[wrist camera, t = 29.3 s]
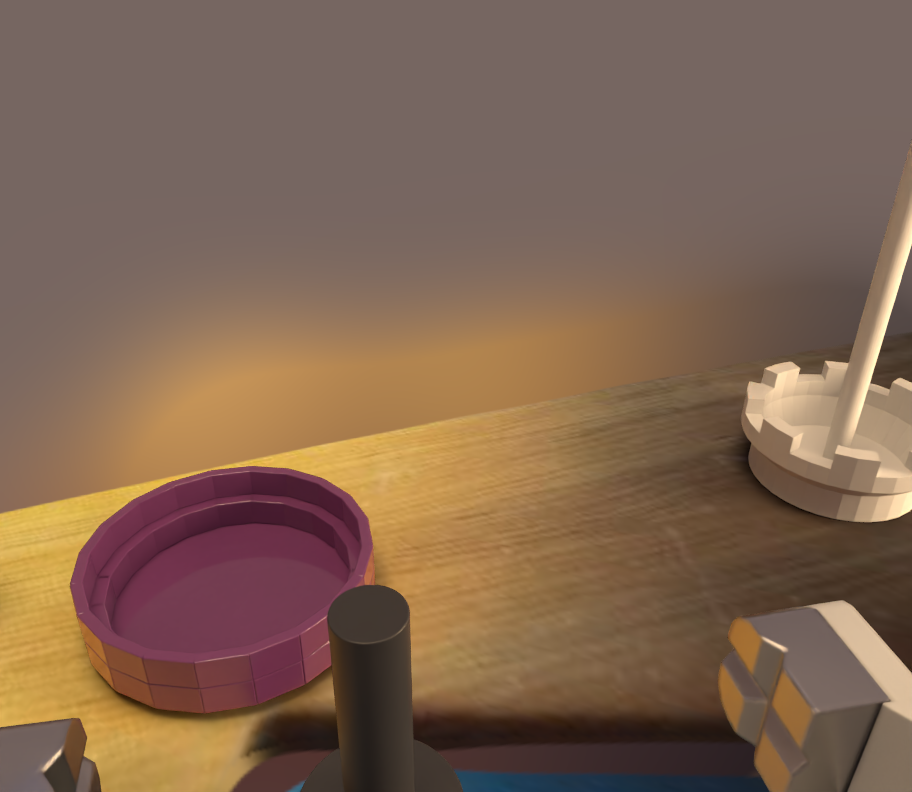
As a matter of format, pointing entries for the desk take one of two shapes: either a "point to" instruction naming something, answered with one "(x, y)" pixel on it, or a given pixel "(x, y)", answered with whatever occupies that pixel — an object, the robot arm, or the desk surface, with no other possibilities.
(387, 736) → the dish brush
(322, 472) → the desk surface
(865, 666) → the robot arm
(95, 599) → the plum bowl
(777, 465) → the flag stand
